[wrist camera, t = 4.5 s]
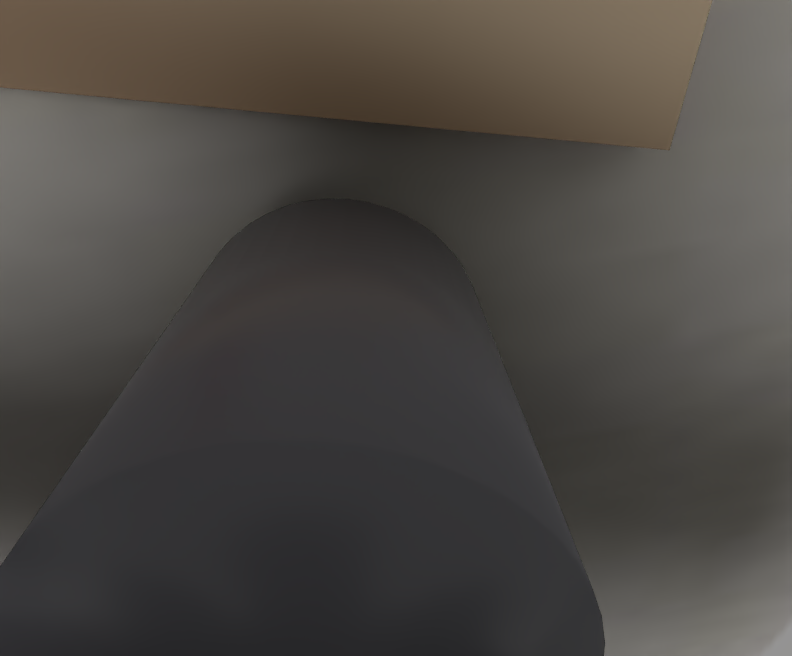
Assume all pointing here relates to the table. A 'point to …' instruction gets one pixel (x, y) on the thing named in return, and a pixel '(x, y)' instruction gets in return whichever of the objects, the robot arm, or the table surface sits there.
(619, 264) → the table surface
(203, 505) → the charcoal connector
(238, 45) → the cork mat
